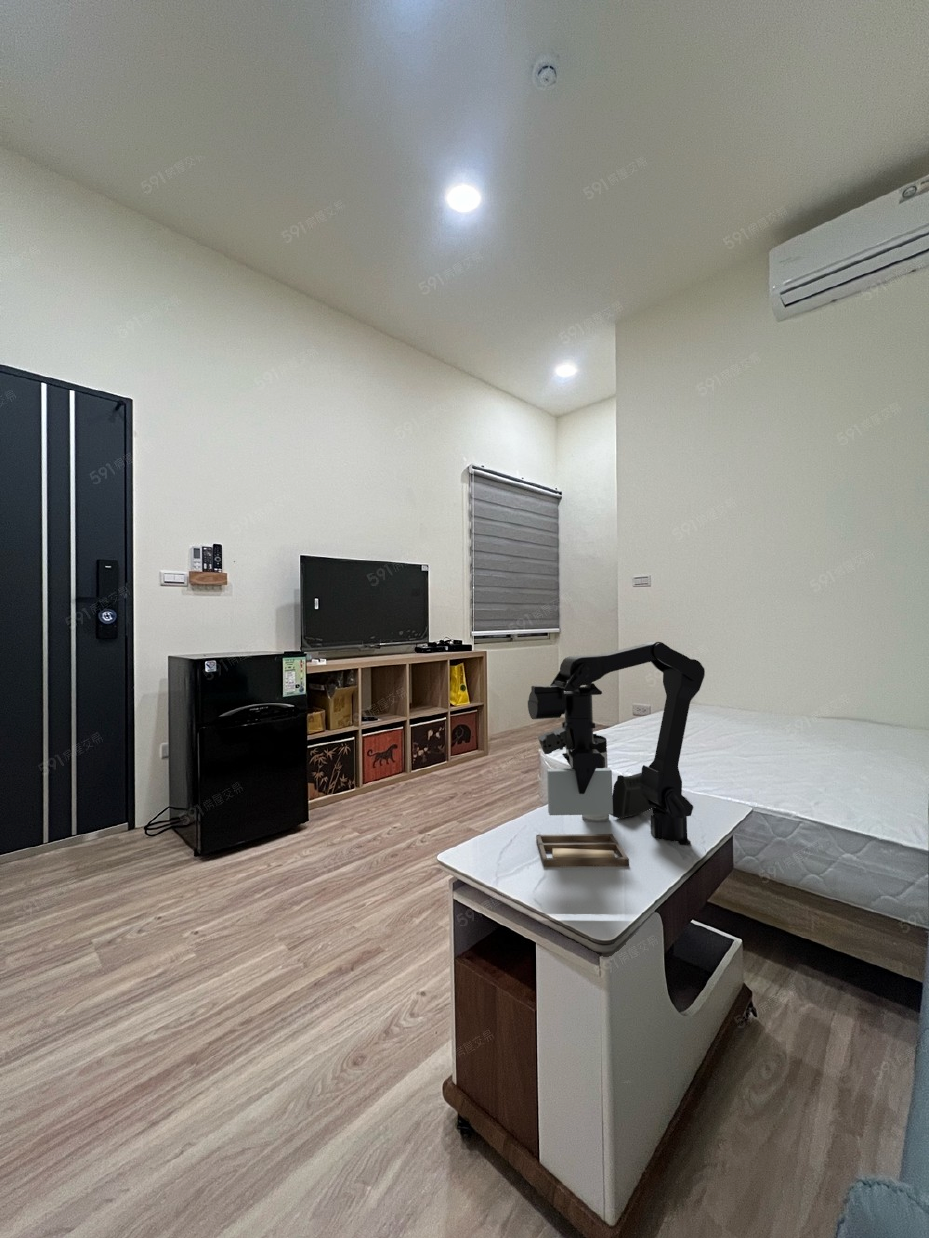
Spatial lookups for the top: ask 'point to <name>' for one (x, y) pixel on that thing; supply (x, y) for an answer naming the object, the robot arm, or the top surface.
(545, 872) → the top surface
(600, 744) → the travel mug
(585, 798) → the gray rectangular panel
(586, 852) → the offcut top
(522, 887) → the top surface
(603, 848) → the brown wooden tray
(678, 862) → the top surface
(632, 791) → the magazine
